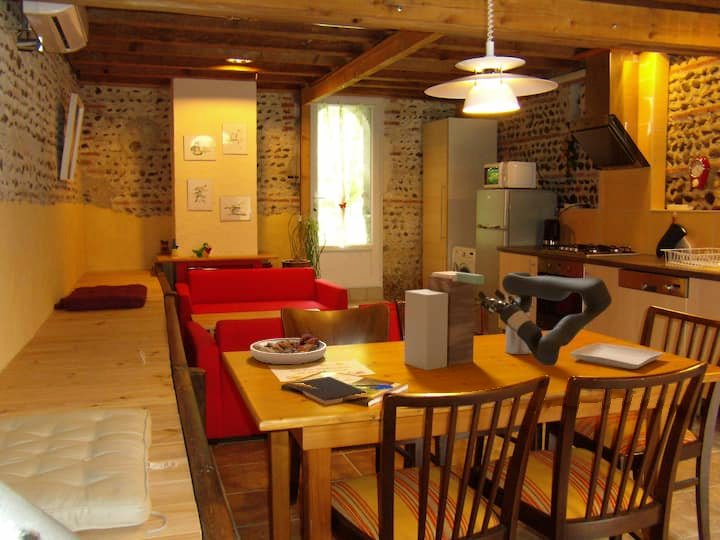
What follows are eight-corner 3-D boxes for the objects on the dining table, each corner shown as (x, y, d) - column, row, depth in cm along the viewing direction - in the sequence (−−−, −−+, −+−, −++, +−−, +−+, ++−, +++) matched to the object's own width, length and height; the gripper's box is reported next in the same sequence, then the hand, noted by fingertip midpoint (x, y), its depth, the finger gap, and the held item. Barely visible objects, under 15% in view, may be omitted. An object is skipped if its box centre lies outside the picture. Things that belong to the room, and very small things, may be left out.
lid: (489, 282, 253) (489, 274, 253) (470, 284, 247) (470, 276, 247) (451, 277, 270) (451, 269, 270) (432, 278, 265) (432, 271, 264)
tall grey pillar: (446, 366, 257) (448, 293, 254) (426, 370, 251) (427, 295, 248) (424, 360, 267) (425, 289, 264) (404, 363, 261) (405, 291, 259)
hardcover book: (324, 407, 207) (324, 399, 207) (289, 389, 226) (289, 382, 226) (368, 398, 216) (368, 391, 216) (330, 382, 235) (330, 376, 235)
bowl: (295, 370, 250) (295, 349, 249) (234, 360, 266) (234, 340, 265) (340, 355, 276) (340, 336, 275) (282, 346, 291) (282, 328, 291)
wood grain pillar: (473, 362, 264) (475, 277, 261) (449, 366, 257) (450, 279, 254) (450, 355, 275) (452, 274, 272) (426, 359, 268) (428, 275, 265)
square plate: (568, 361, 268) (568, 351, 267) (597, 350, 288) (598, 341, 287) (637, 373, 249) (638, 363, 249) (664, 361, 269) (664, 351, 269)
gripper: (534, 309, 239) (505, 282, 249) (506, 313, 231) (477, 285, 241) (526, 326, 242) (497, 298, 253) (497, 330, 234) (469, 301, 245)
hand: (487, 292), depth 247 cm, fingers open, 8 cm apart
